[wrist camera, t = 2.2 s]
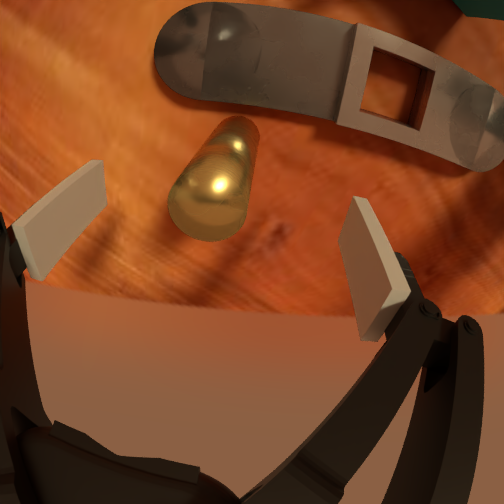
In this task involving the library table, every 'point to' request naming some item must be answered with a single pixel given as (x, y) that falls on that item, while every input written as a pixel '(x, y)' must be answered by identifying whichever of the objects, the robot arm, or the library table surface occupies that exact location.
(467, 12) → the teal l-shaped bracket
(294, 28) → the slotted link plate
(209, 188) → the pin
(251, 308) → the library table surface
